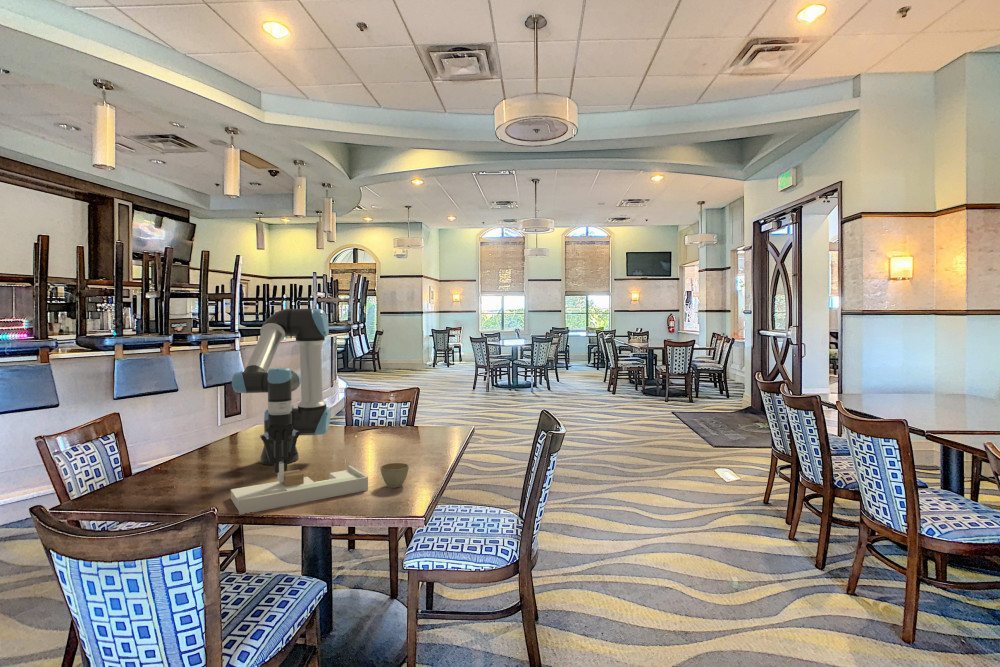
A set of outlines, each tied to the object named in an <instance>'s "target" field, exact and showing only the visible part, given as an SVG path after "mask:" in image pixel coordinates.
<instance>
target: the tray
mask: <svg viewBox="0 0 1000 667" xmlns="http://www.w3.org/2000/svg"><path fill="white" fill-rule="evenodd" d="M368 490H369V476H368V475H366V474H364V473H363V472H362V471H360V470H358V469H356V468H355V467H353V466H352V465H347V469H345V470H339V471H334V472H329V479H325V480H319V481H318V480H317V481H314V480H312V479H311V478H310V477H308V476H304V484H298V485H292V486H287V487H285V486H284V485H283V484H282V483H279V482H278V481H274V482H267V483H261V484H256V485H248V486H243V487H236V488H231V489H230V499H231V501H232V503H233V505H234V506H235V507H236V509H237V510H238V515H239V516H240V515H246V514H245V513H247V514H250V512H252V513H256V512H262V511H267V510H271V509H277V508H283V507H287V506H288V507H289V506H292V505H297V504H298V505H299V504H303V503H308V502H313V501H317V500H318V501H319V500H324V499H329V498H333V497H340V496H344V495H350V494H354V493H360V492H365V491H368Z"/></svg>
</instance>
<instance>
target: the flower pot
mask: <svg viewBox="0 0 1000 667" xmlns="http://www.w3.org/2000/svg"><path fill="white" fill-rule="evenodd" d="M409 467H410V465H409V464H407V463H404V462H391V463H386V464H383V465H380V473H381V477H382V479H383V481H384V483H385V485H386V486H387V488H389V489H396V488H397V487H398V488H401V487H402V486H403V485H404V483H405V480H406V479H407V477H408V473H409Z"/></svg>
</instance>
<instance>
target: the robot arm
mask: <svg viewBox="0 0 1000 667" xmlns="http://www.w3.org/2000/svg"><path fill="white" fill-rule="evenodd" d="M329 330H330V327H329V320H328V316H327V314H326V312H325V311H324V310H323V309H321V308H284V309H280V310H278V311H276V312H275V313H273V314H272V315H271V316H269V317H268V318H266V320H265V321H264V322H263V323H262V325H261V328H260V331H259V332H260V336H259V338H258V339H257V343H256V345H255V347H254V349H253V352H252V353H251V355H250V358H249V360H248V362H247V364H246V366H245V368H244V370H243V371H237V372H234V374H233V375H232V378H231V387H232V390H233V392H235V393H239V394H257V393H258V394H259V393H261V394H263V393H264V394H265V393H267V408H266V410H265V411H264V415H263V416H264V419H263V429H264V431H263V432H264V433H263V434H260V435H259V439H260V440H262V442H263V448H262V450H261V453H260V457H259V463H260V464H262V465H266V466H267V465H268V466H274V467H273V468H274V469H273V470H274V472H275V474H277V482H279V483H281V482H284V472H287V471H288V464H290V463H294V462H297V461H298V460H299V452H298V448H297V446H296V444H297V441H298V438H299V436H319V435H320V436H321V435H325V434H326V433H327V432H328V430H329V427H330V422H331V416H332V412H331V410H332V409H331V407H329V406H327V402H326V401H325V400H324V399H323V366H322V364H323V363H322V344H323V343H324V342H325V340H326V338H325V337H328V336H329V332H330V331H329ZM288 337H294V338H295V342H296V343H297V344H298V345H299V364H300V365H299V368H300V373H298V371H295V370H292V369H291V368H290V367H272V368H270V366H271V365H272V364H271V363H272V362H273V359H274V357H275V355H276V352H277V350H278V347H279V345H280V343H281V342H282V341H283V340H284V339H285V338H288ZM299 387H300V395H301V396H300V397H301V398H300V399H301V400H300V402H299V403H298V404H297V407H296V408H295V406H294V404H292V403H293V402H292V399H293V398H292V392H295V391H296V390H297V389H298V388H299Z"/></svg>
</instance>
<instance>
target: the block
mask: <svg viewBox="0 0 1000 667" xmlns="http://www.w3.org/2000/svg"><path fill="white" fill-rule="evenodd" d="M304 477H305V476H304V472H302V471H301V470H300V469H294V470H287V471H285V472H284V482H281V483H282V484H283V485H284V486H285V487H287V486H292V485H298V484H304Z"/></svg>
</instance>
